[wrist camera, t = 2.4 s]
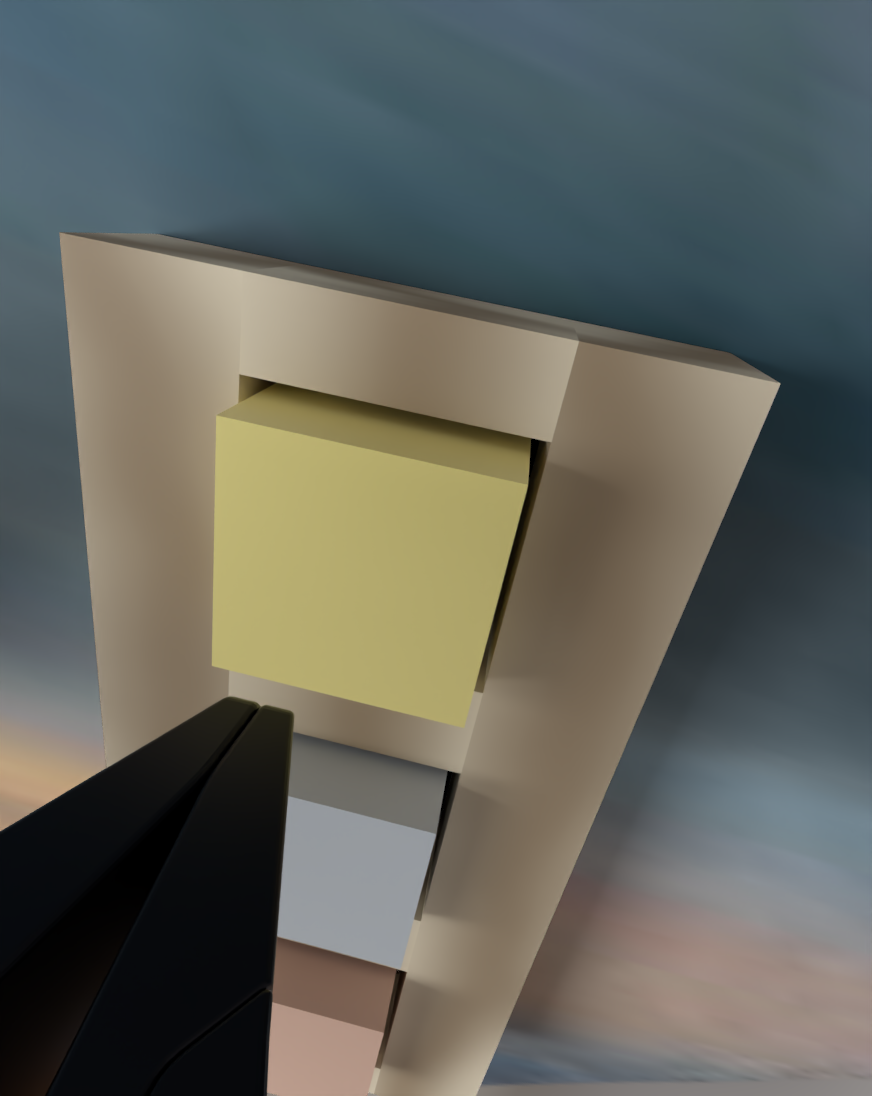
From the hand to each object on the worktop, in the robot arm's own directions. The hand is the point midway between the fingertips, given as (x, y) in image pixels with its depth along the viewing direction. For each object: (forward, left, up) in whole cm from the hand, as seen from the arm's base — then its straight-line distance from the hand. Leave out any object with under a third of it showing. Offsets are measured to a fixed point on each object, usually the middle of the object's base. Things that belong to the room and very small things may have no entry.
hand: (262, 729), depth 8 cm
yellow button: (0, 0, -7) cm, 7 cm away
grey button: (0, -8, -7) cm, 10 cm away
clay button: (0, -16, -7) cm, 17 cm away
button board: (0, -8, -8) cm, 11 cm away
